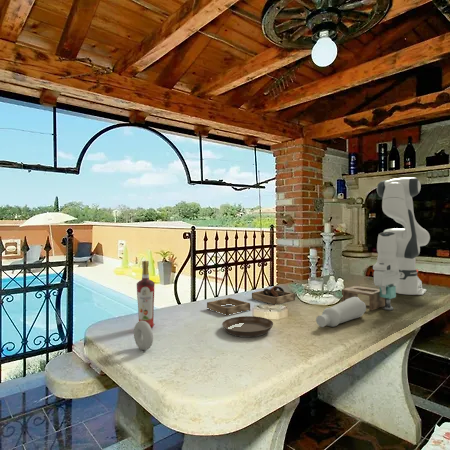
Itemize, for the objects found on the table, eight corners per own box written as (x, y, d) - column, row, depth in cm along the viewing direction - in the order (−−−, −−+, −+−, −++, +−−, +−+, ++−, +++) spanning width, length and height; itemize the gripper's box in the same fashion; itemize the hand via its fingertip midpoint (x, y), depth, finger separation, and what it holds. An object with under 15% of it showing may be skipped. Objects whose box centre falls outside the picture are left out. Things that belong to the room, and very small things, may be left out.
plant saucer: (212, 329, 132) (212, 321, 132) (249, 320, 145) (249, 312, 145) (245, 344, 116) (244, 335, 116) (284, 331, 128) (284, 323, 128)
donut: (132, 347, 114) (131, 318, 114) (140, 344, 116) (140, 316, 116) (146, 355, 107) (145, 325, 107) (155, 352, 109) (154, 322, 109)
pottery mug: (280, 297, 190) (284, 286, 186) (281, 308, 181) (286, 297, 178) (260, 292, 189) (265, 281, 185) (261, 303, 181) (265, 292, 177)
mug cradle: (271, 294, 195) (270, 288, 195) (294, 299, 181) (294, 293, 181) (251, 298, 184) (251, 292, 184) (275, 304, 170) (275, 298, 170)
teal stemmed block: (384, 307, 162) (384, 284, 162) (395, 309, 158) (395, 285, 158) (379, 309, 159) (379, 285, 159) (391, 311, 155) (390, 287, 155)
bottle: (345, 306, 153) (307, 320, 134) (355, 291, 149) (317, 305, 130) (361, 320, 148) (324, 337, 128) (371, 305, 144) (335, 321, 124)
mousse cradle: (229, 304, 173) (229, 297, 173) (250, 310, 160) (250, 303, 160) (207, 309, 163) (206, 302, 163) (227, 316, 151) (227, 308, 151)
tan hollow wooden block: (355, 300, 178) (355, 285, 178) (385, 305, 165) (385, 290, 165) (341, 304, 169) (341, 289, 169) (371, 310, 157) (371, 294, 157)
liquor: (136, 331, 130) (135, 262, 130) (137, 326, 138) (136, 260, 138) (155, 330, 132) (154, 262, 132) (155, 324, 139) (154, 260, 139)
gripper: (390, 262, 168) (390, 289, 168) (370, 266, 155) (371, 295, 155) (403, 263, 163) (403, 291, 163) (384, 267, 150) (384, 297, 150)
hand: (387, 293), depth 159 cm, fingers closed on teal stemmed block, 5 cm apart
